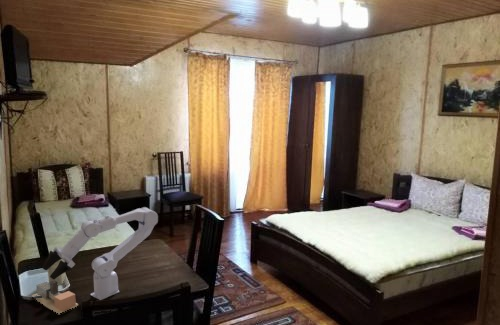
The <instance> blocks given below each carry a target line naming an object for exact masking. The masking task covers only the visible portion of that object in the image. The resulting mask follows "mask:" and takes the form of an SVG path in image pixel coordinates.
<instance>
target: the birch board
mask: <svg viewBox="0 0 500 325" xmlns="http://www.w3.org/2000/svg"><path fill="white" fill-rule="evenodd" d="M31 296H37V293H34V294H31ZM36 300H37V301H36ZM36 300H35V301H36V302H38V303H39V302H40V304H41V305H42V304H43V306H44V307H45V308H47V309H49V310H51V311H52V310H53V313H55V312H56V314H57V313H58V314H57V315H61V314H60V313H62V312H64V313H66V312H68V311H67V310H69V309H71V310H73V309H75V307H76V308H77V306H78V307H79V303H77V302H76V305H75V306H72V307H70V308H68V309H65V310H63V311H60V310H58V309H57V308H55V302H54V300H52V299H51V298H50V299H47V300H46V299H44V298H36ZM72 308H73V309H72ZM65 311H66V312H65ZM69 311H70V310H69ZM62 314H63V313H62Z"/></svg>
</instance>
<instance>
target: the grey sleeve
mask: <svg viewBox="0 0 500 325" xmlns="http://www.w3.org/2000/svg"><path fill="white" fill-rule="evenodd" d="M49 290H50V283H49V281H44V282H42V283H39V284H37V285H36V294H37V295H41V296H42V298H44V299H46V300H47V299H50V298H49V297H47V291H49Z"/></svg>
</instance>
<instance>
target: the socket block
mask: <svg viewBox="0 0 500 325" xmlns="http://www.w3.org/2000/svg"><path fill="white" fill-rule="evenodd" d="M76 300H77V299H76V294H75V293H74V292H71V291H70V290H68V291H64V292H62V293H61V294H59V295H57V296H54V302H55V308H57V309H58V310H60V311H63V310H65V309H68V308H70V307H72V306H75V305H76V303H77V301H76Z"/></svg>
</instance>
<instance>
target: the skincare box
mask: <svg viewBox="0 0 500 325" xmlns="http://www.w3.org/2000/svg"><path fill="white" fill-rule="evenodd" d="M61 256H62V255H61ZM62 257H63V256H62ZM63 258H64V257H63ZM61 260H62V261H63V262H65V261H64V260H63V259H61ZM59 262H60V260H59V261H57V262H56V263H54V264H53V265H52V266H51V267H50V268H49V269H48V270H47V276H48V278H47V279H48V283H50V282H51V281H54V280H55V281H57V282H58V285H63V284H64V282H65V281H64V279H65V277H67V276H66V275H67V274H66V272H65V273H63V274H61V275H60V276H58V277H57V278H56V279H52V278H50V275H51V274H52V273H53V272H54V270H55V269H56V268H57V266H58V264H59ZM63 281H64V282H63Z"/></svg>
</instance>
